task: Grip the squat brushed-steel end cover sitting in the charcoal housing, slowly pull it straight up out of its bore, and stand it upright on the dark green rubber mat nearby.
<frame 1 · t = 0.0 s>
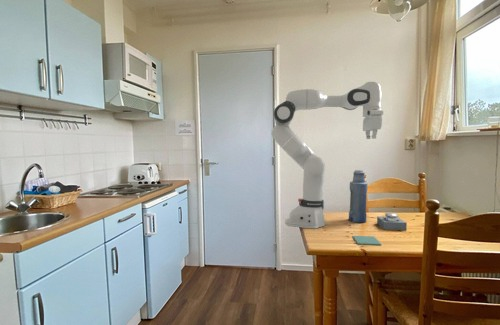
hand: (371, 138, 146), 48 cm above the table, tool pointing down, fingers open, 8 cm apart
end cover: (391, 220, 147), in the housing
bottle: (357, 221, 159), on the table
housing: (391, 226, 147), on the table
mat: (366, 240, 126), on the table
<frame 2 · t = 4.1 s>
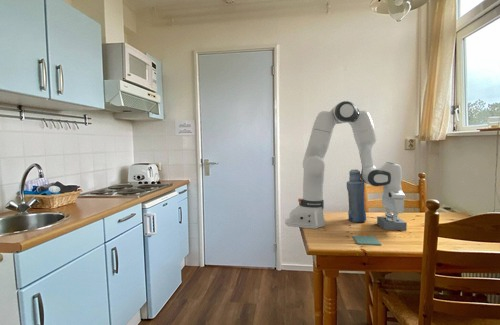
hand: (391, 217, 147), 5 cm above the table, tool pointing down, fingers closed on end cover, 6 cm apart
end cover: (391, 220, 147), in the housing, touching gripper
bottle: (357, 220, 159), on the table, touching arm
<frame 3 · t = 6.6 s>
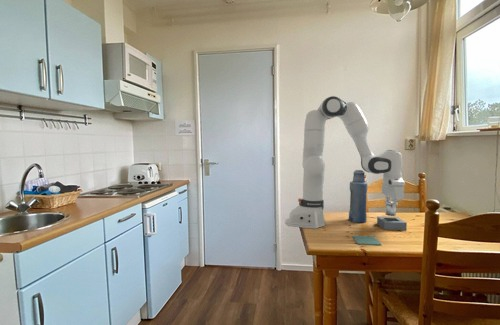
hand: (390, 205, 146), 12 cm above the table, tool pointing down, fingers closed on end cover, 6 cm apart
end cover: (390, 208, 147), point 10 cm above the table, touching gripper
bottle: (357, 221, 159), on the table
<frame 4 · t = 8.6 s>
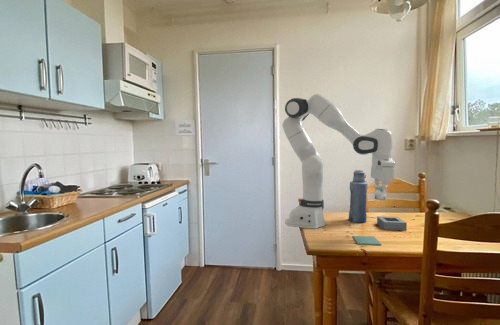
hand: (380, 189, 135), 23 cm above the table, tool pointing down, fingers closed on end cover, 6 cm apart
end cover: (380, 192, 136), point 21 cm above the table, touching gripper
everything else where it was.
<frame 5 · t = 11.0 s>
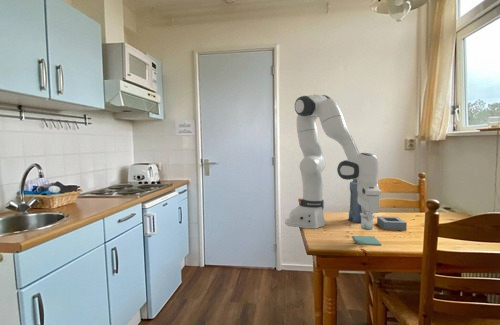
hand: (366, 217, 125), 11 cm above the table, tool pointing down, fingers closed on end cover, 6 cm apart
end cover: (366, 221, 125), point 9 cm above the table, touching gripper
everything else where it was.
when the fingers open (6 cm above the table, at t = 13.2 s): end cover stays where it is, resting on mat.
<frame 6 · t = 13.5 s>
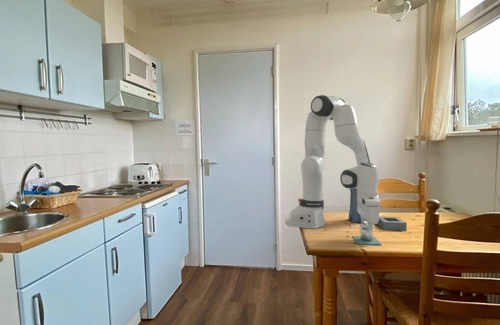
hand: (366, 227, 125), 6 cm above the table, tool pointing down, fingers open, 8 cm apart
end cover: (366, 232, 126), on the mat, point 4 cm above the table
everything else where it was.
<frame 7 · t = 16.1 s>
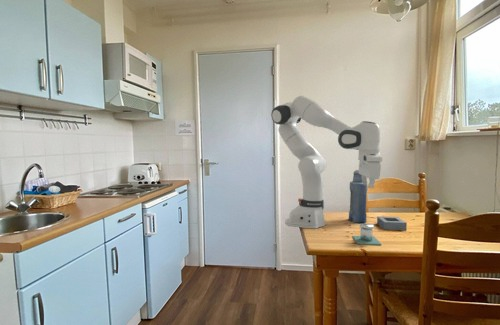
hand: (367, 186, 125), 26 cm above the table, tool pointing down, fingers open, 8 cm apart
nothing on the table moved.
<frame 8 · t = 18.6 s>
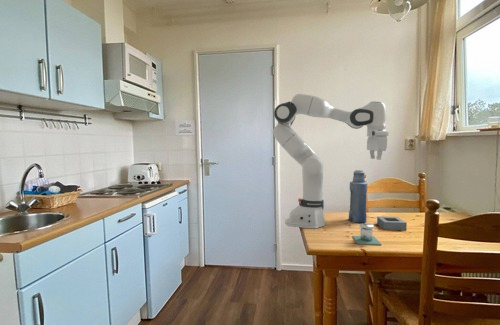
hand: (375, 159, 143), 37 cm above the table, tool pointing down, fingers open, 8 cm apart
nothing on the table moved.
at the end: end cover inside the target area (0.1 cm from its centre), point 4.1 cm above the table; end cover tilted 0°; end cover moved 31.2 cm from its start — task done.
